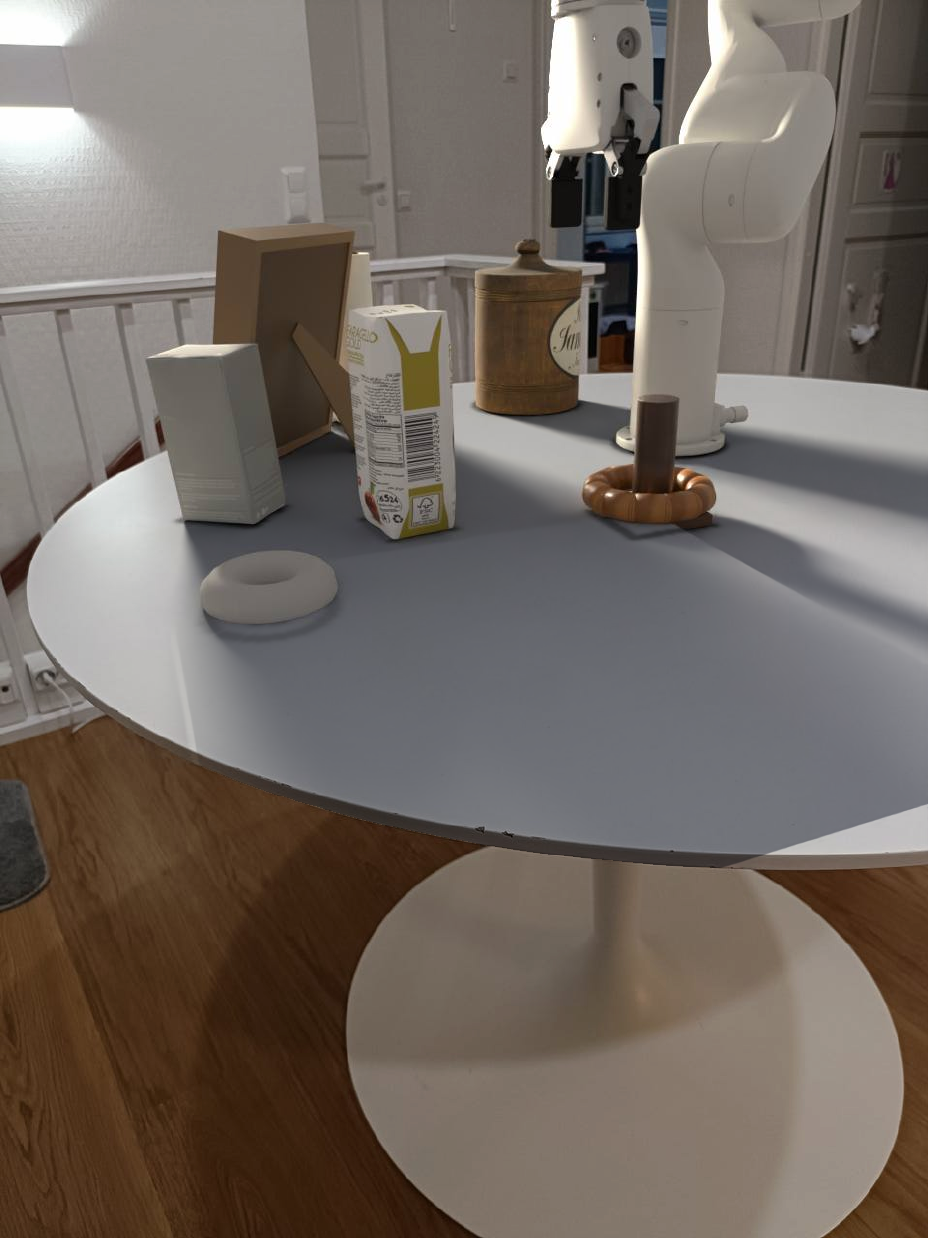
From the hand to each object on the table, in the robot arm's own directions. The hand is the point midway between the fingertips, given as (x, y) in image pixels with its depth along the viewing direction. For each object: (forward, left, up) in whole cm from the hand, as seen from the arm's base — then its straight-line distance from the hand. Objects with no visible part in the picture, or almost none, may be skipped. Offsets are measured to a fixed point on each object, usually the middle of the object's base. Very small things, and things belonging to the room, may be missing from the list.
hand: (592, 228), depth 78 cm
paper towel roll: (+13, -43, -25) cm, 51 cm away
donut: (+34, +15, -25) cm, 44 cm away
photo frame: (+22, -28, -25) cm, 43 cm away
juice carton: (+19, +1, -25) cm, 31 cm away
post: (-2, +9, -25) cm, 26 cm away
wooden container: (-12, -41, -25) cm, 50 cm away
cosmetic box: (+34, -9, -25) cm, 43 cm away
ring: (-2, +8, -22) cm, 24 cm away
